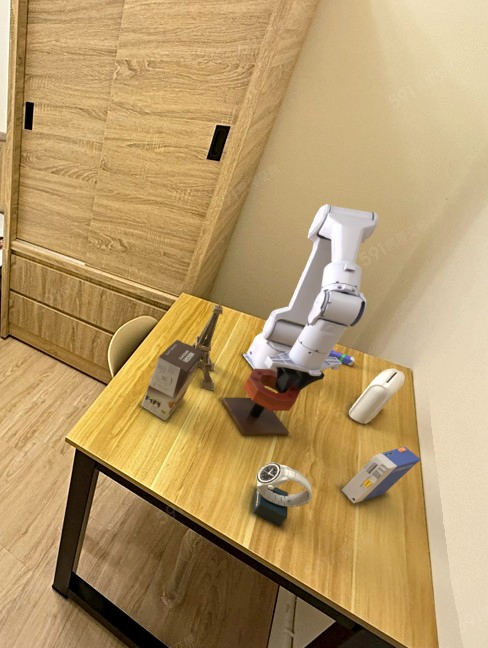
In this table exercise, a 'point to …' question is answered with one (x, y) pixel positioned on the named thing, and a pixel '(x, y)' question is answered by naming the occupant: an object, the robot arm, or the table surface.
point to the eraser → (342, 357)
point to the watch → (278, 492)
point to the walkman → (380, 474)
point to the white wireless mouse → (377, 395)
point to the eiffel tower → (207, 347)
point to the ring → (269, 391)
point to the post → (254, 418)
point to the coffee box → (171, 378)
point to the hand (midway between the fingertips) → (285, 390)
